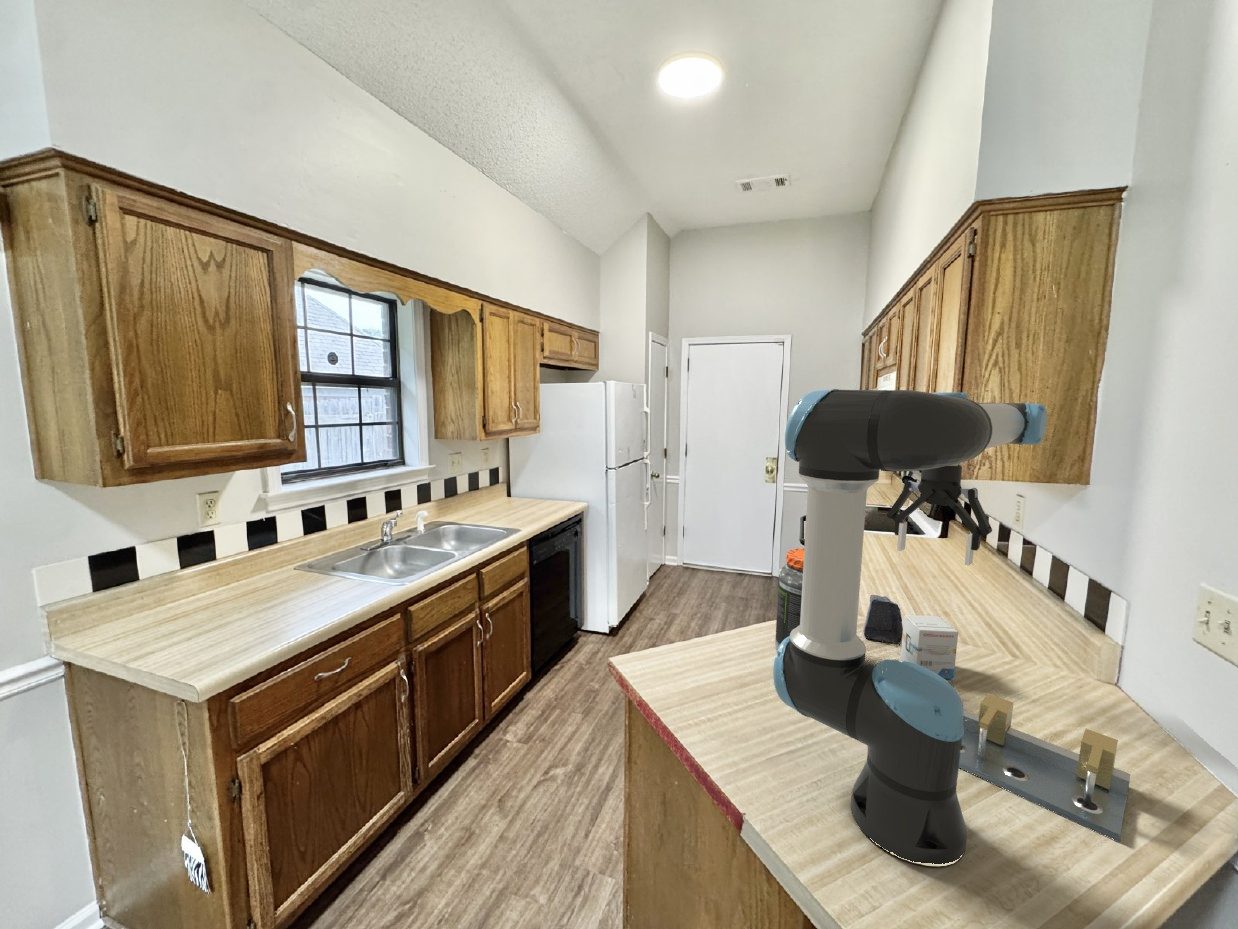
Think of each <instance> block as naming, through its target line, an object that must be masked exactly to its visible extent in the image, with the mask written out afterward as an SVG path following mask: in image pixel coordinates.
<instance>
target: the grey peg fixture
mask: <svg viewBox="0 0 1238 929" xmlns="http://www.w3.org/2000/svg"><path fill="white" fill-rule="evenodd" d="M978 722H979V714H977V713H975V712H972V711H969V710H968V709H964V711H963V725H964V735H963V737H962V742H961V751H960V760H959V768H961V769H960V770H962V769H963V770H962V771H964V770H965V771H964V772H966V771H968V772H970V773H973V774H975V775H977V776H978V777H977V776H976V777H977V778H979V777H981V778H983V779H985V780H988V781H989V782H988V783H990V782H992V783H993V784H992V783H991V784H992V785H994V784H996V785H998V786H1000V787H1003V788H1004V789H1003V788H1002V789H1003V790H1005V789H1006V790H1005V791H1007V790H1009V791H1011V792H1013V793H1014V795H1015V794H1017V795H1016V796H1018V795H1019V796H1018V797H1020V796H1021V797H1020V798H1022V797H1024V798H1026V799H1027V801H1028V800H1029V802H1031V801H1033V802H1034V803H1033V802H1032V803H1033V804H1035V803H1037V804H1040V805H1041V806H1043V807H1045V808H1044V809H1046V808H1047V809H1046V810H1048V809H1049V811H1050V812H1052V811H1054V812H1056V813H1057V815H1059V814H1060V815H1059V816H1061V817H1063V818H1065V819H1067V818H1068V820H1069V821H1072V822H1074V823H1076V822H1077V823H1076V824H1078V825H1080V826H1082V825H1084V826H1085V827H1084V826H1083V827H1084V828H1087V827H1088V828H1087V829H1089V828H1090V829H1089V830H1091V829H1092V830H1091V831H1093V830H1094V831H1093V832H1095V831H1096V833H1097V832H1099V833H1098V834H1100V833H1101V834H1100V835H1102V834H1103V835H1102V836H1104V835H1106V836H1108V837H1110V838H1113V839H1114V840H1113V841H1115V840H1116V841H1115V842H1117V841H1118V842H1117V843H1120V840H1121V839H1120V838H1121V832H1122V829H1121V828H1123V823H1124V815H1125V811H1126V805H1127V800H1128V793H1129V787H1130V780H1131V773H1129V772H1126V771H1123V770H1121V769H1119V768H1116V767H1115V762H1116V755H1117V750H1118V749H1117V748H1118V742H1119V740H1118V739H1116V738H1113V737H1110V736H1108V735H1104V734H1102V733H1099V732H1096V731H1094V730H1091V729H1088V728H1084V729H1085V730H1084V731H1083V732H1084V733H1083V734H1082V735H1083V736H1082V738H1081V743H1080V749H1079V753H1078V752H1075V751H1072V750H1070V749H1066V748H1065V747H1061V746H1059V745H1057V744H1054V743H1052V742H1049V741H1046V740H1045V739H1044V740H1043V739H1041V738H1038V737H1036V736H1034V735H1032V734H1028V733H1026V732H1023V731H1021V730H1018V729H1015V728H1013V727H1012V726H1011V727H1008V729H1007V731H1006V736H1005V743H1004V745H1000V744H998V743H995V742H993V741H991V740H988V739H986V746H985V755H984V756H979V755H978V744H979V735H977V731H978ZM968 772H967V773H968ZM970 773H969V774H970ZM975 775H974V776H975ZM981 778H980V779H981ZM983 779H982V780H983ZM985 780H984V781H985ZM996 785H995V786H996ZM998 786H997V787H998ZM1000 787H999V788H1000ZM1009 791H1008V792H1009ZM1011 792H1010V793H1011ZM1013 793H1012V794H1013ZM1024 798H1023V799H1024ZM1026 799H1025V800H1026ZM1037 804H1036V805H1037ZM1041 806H1040V807H1041ZM1043 807H1042V808H1043ZM1054 812H1053V813H1054ZM1056 813H1055V814H1056ZM1106 836H1105V837H1106ZM1108 837H1107V838H1108ZM1110 838H1109V839H1110Z"/></svg>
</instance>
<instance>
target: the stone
mask: <svg viewBox="0 0 1238 929" xmlns="http://www.w3.org/2000/svg"><path fill="white" fill-rule="evenodd" d="M862 633H863V636H864V638H865V639H869V640H874V641H876V642H886V643H891V644H895V645H898V644H901V643H902V633H903V617H902V612H901V608H900V607H899V605H898V604H897V603H896V602H894V601H892V600H891V599H890V598H889V597H888V596H885V595H884V596H881V595H876V594H871V595H870V597H869V606H868V609H867V613H866V617H865V620H864V627H863V631H862Z"/></svg>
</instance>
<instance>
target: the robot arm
mask: <svg viewBox="0 0 1238 929" xmlns="http://www.w3.org/2000/svg"><path fill="white" fill-rule="evenodd" d="M789 414H790V415H789V417H788V419H787V423H786V427H785V432H784V445H785V450H787V451H786V454H787V455H788V457H789V458H790V459H791V460H793V461H795V462H797V463H798V476H799V478H801V479H802V480H803V482H804V483H805V484H806V486H807V496H806V511H805V514H806V515H805V530H804V531H805V533H804V547H803V548H804V564H803V582H802V599H801V617H800V625H799V626H798V627H796V628H795V629H793V630H792V631H791V633H790V636H789V637H787V638H785V639H784V640H783V641H782V643H781V644H780V646H779V648H778V650H777V651H776V653H777V655H776V657H775V658H774V659H773V660H774V661H773V667H772V668H773V669H772V677H773V679H772V680H773V685H774V688H775V691H776V694H777V696H778V697H779V698H780V700H781V701H782V702H783V703H784V704H785V705H786V706H788V707H789V708H792V709H794V710H795V711H796V712H797V713H799V714H801V715H802V716H804V717H807V718H810V719H812V720H815V721H817V722H818V723H822V724H823V725H825V726H827V727H828V728H830V729H832V730H836V731H837V732H840V733H841V734H843V735H846V736H848V737H849V738H852V739H853V740H855V741H857V742H860V743H862V744H863V745H865V746H866V747H867V756H866V762H865V764H864V766H863V768H862V769H861V771H860V773H859V775H858V777H857V779H856V780H855V783H854V785H853V786H852V790H851V797H850V811H852V812H851V815H852V814H853V815H852V817H854V818H853V820H854V822H855V821H856V822H855V823H857V824H856V825H857V826H859V827H860V828H861V829H860V828H859V827H858V828H859V829H860V831H861V830H862V831H863V832H864V833H865V834H866V835H867V836H868V837H869V838H871V839H872V840H873V841H874V842H876V843H877V844H879V845H880V846H881V847H883V848H884V849H886V850H888V851H889V852H893V853H894V854H896V855H897V856H899V857H901V858H904V859H907V860H910V861H912V862H913V861H914V862H921V863H932V864H933V863H934V864H942V863H943V864H945V863H949V862H953V861H955V860H957V859H959V858H960V856H961V855H962V854H963V853H964V854H965V852H966V845H967V827H966V822H965V819H964V816H963V811H962V808H961V805H960V801H959V798H958V794H957V786H958V777H959V770H960V769H959V760H960V751H961V742H962V737H963V735H964V725H963V711H964V710H965V709H964V703H963V700H962V698H961V695H960V694H959V692H958V691H957V690H956V689H955V688H954V687H953V685H952V684H951V683H950V682H949V681H947V679H944V678H942V677H941V676H939V675H938V674H936V673H934V672H933V671H931V670H929V669H927V668H924V667H922V666H920V665H917V664H914V663H911V662H907V661H903V662H902V661H901V660H898V659H892V658H891V659H885V660H884V659H883V660H881V661H879V662H877V664H874V663H871V662H868V661H866V654H867V652H866V651H867V648H866V644H865V642H864V641H863V640H862V638H860V636H859V635H858V634H857V633H858V632H857V630H858V629H857V628H858V618H859V603H860V589H861V575H862V561H863V549H864V534H865V522H866V508H867V506H866V505H867V494H868V493H867V491H868V489H869V488H870V487H871V486H873V485H874V484H876V483H877V482H878V481H880V480H879V478H880V471H892V472H917V471H921V473H920V482H915V481H913V480H912V479H911V480H907V481H904V484H903V488H902V489H903V490H902V491H901V493H900V495H899V496H898V497H897V498H896V500H895V502H894V504H893V505H892V506H891V508H890V509H889V511H888V512H887V514H886V517H887V518H888V519H891V520H892V521H894V530H893V531H894V532H893V533H894V535H895V536H897V551H899V552H901V551H904V550H905V549H906V541H907V529H908V521H904V520H906V518H907V517H909V516H910V515H912V513H914V512H915V511H917V510H918V509H919V508H920V507H921V506H922V505H923V504H925V503H927V504H929V505H938V506H941V507H946V506H947V507H948V506H949V508H950V509H951V510H953V511H954V512H955V514H956V515H957V516H958V518H959V519H960V520H961V522H962V524H964V525H965V527H966V528H967V529H968V531H969V532H970V533H969V534H967V536H966V537H967V538H966V549H965V558H964V565H965V566H971V565H972V564H973V562H974V552H976V551H978V550H979V549H980V547H981V539H982V538H981V537H982V536H983V535H984V536H985V535H987V536H988V535H989V534H991V533H993V529H992V527H991V524H990V521H989V520H988V517H987V515H986V513H985V510H984V509H983V507H982V505H981V502H980V500H979V496H978V494H979V493H978V489H977V488H976V487H972V488H963V487H962V486H961V482H962V470H963V467H962V465H961V464H962V463H964V462H967V461H971V460H973V459H975V458H976V457H979V455H981V454H982V453H983V452H984V451H985V450H987V449H990V448H994V447H999V446H1002V445H1007V444H1008V445H1020V446H1024V445H1039V444H1040V443H1041V442H1042V441H1043V440H1044V437H1045V434H1046V430H1047V422H1048V412H1047V408H1046V406H1045V405H1044V404H1042V403H1028V402H976V401H974V400H972V399H970V398H969V395H968V394H967V393H966V392H947V391H946V392H939V391H937V392H926V391H920V390H913V389H912V390H911V389H895V390H891V389H889V390H887V389H837V388H833V389H823V390H813V391H810V392H808V393H806V394H805V395H803V396H802V397H801V398H799V400H798V401H797V403H796V405H794V406H793V408H792V410H791V412H790V413H789ZM917 489H918V491H919V493H920V494H921V496H918V498H917V499H916V500H915V501H913V503H911V504H910V505H908V507H906V508H905V509H904V510H903V511H902V512H900V510H901V509H902V507H903V506H904V505H905V503H906V501H907V500H908V499H909V497H910V496H911V494H912V492H914V491H916V490H917ZM961 495H963V496H964V498H965V499H967V500H968V503H969V506H970V508H971V510H972V512H973V515H974V517H975V519H976V521H975V520H974V519H973V517H972V516H971V515H970V514H969V513H968V511H967V510H966V509H965V507H964V506H963V505H962V504H963V503H961V501H960V500H959V499H958V498H959V497H960V496H961ZM899 512H900V514H898V513H899ZM976 522H977V523H976ZM862 831H861V832H862ZM863 832H862V833H863ZM864 833H863V834H864ZM865 834H864V835H865ZM866 835H865V836H866ZM867 836H866V837H867ZM868 837H867V838H868ZM869 838H868V839H869ZM964 851H965V852H964Z"/></svg>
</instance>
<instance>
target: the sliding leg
mask: <svg viewBox="0 0 1238 929" xmlns="http://www.w3.org/2000/svg"><path fill="white" fill-rule="evenodd" d="M979 706H980V707H979V714H978V715H979V722H978V731H977V735H979V744H978V755H979V756H984V755H985V746H986V739H988V740H991V741H993V742H995V743H998V744H1000V745H1004V743H1005V736H1006V731H1007V729H1008V727H1011V728H1012V720H1013V719H1012V717H1013V712H1014V711H1013V710H1014V702H1013V701H1010V700H1008V699H1005V698H1002V697H999V696H996V695H993V694H991V693H987V694H986V695H985V697H984V698H983V700H982V701H981V702H980V704H979Z"/></svg>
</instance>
